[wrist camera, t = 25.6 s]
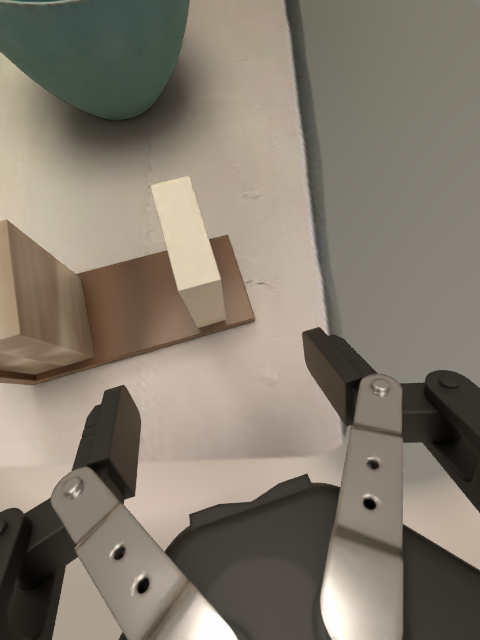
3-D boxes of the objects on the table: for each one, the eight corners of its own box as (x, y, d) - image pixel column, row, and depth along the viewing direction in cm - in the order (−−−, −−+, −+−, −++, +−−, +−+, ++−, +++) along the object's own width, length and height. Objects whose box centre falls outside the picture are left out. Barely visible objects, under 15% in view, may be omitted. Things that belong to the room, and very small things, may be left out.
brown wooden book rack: (31, 385, 24) (-96, 376, 15) (20, 294, 26) (-98, 236, 17) (254, 321, 26) (264, 276, 16) (228, 240, 28) (224, 159, 18)
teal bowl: (219, 38, 34) (210, -154, 22) (190, 171, 29) (159, 16, 18) (62, 20, 35) (-28, -178, 23) (9, 148, 30) (-140, -18, 18)
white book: (197, 328, 24) (178, 291, 16) (176, 252, 26) (149, 184, 18) (226, 320, 24) (221, 279, 16) (203, 245, 26) (189, 175, 18)
